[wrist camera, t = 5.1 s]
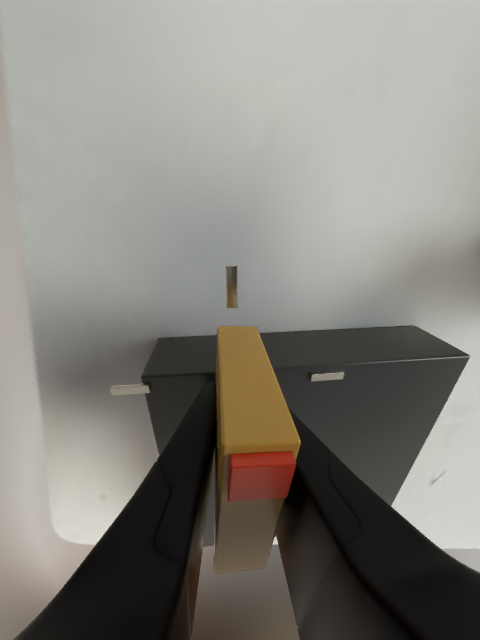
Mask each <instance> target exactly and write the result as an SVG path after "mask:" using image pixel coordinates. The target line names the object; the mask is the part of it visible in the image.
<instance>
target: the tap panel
mask: <svg viewBox="0 0 480 640" xmlns="http://www.w3.org/2000/svg"><path fill="white" fill-rule="evenodd" d="M226 293H227V308H238V266H237V265H226ZM259 334H260V337H261V339H262V342H263V345H264V347H265V350H266V352H267V355H268V357H269V360H270V363H271V365H272V368H273V370H274V373H275V376H276V378H277V381H278V383H279V386H280V388H281V391H282V394H283V396H284V399H285V401H286V404H287V406H288V407H289V408H290V409H291V410H292V411H293V413H294V414H295V415H296V416H297V417H298V418H299V419H300V420H301V421H302V422H303V423H304V424H305V425H306V426H307V427H308V428H309V429H310V430H311V431H312V432H313V433H314V434H315V435H316V436H317V437H318V438H319V439H320V440H321V441H322V442H323V443H324V444H325V445H326V446H327V447H328V448H329V449H330V450H331V452H333V453H334V454H335V455H336V456H337V457H338V458H339V459H340V460H341V461H342V462H343V463H344V464H345V465H346V466H347V467H348V468H349V469H350V470H351V471H352V472H353V473H354V474H355V475H356V476H357V477H358V478H360V479H361V480H362V481H363V482H364V483H365V484H366V485H367V486H368V487H369V488H371V489H372V490H373V491H374V492H375V493H376V494H377V495H378V496H380V497H381V498H382V499H383V500H384V501H385V502H386V503H388V504H389V505H390V506H391V505H392V503H393V501H394V500H395V498H396V496H397V494H398V492H399V490H400V488H401V486H402V484H403V483H404V481H405V479H406V477H407V475H408V473H409V471H410V469H411V468H412V466H413V464H414V462H415V460H416V458H417V456H418V454H419V452H420V451H421V449H422V447H423V445H424V443H425V441H426V439H427V437H428V435H429V434H430V432H431V430H432V428H433V426H434V424H435V422H436V420H437V418H438V417H439V415H440V413H441V411H442V409H443V407H444V405H445V403H446V401H447V400H448V398H449V396H450V394H451V392H452V390H453V388H454V386H455V384H456V383H457V381H458V379H459V377H460V375H461V373H462V371H463V369H464V367H465V366H466V364H467V362H468V360H469V358H470V355H468V354H467V353H465V352H463V351H461V350H459V349H457V348H455V347H454V346H452V345H450V344H448V343H446V342H444V341H443V340H441V339H439V338H437V337H435V336H433V335H431V334H430V333H428V332H426V331H424V330H422V329H420V328H419V327H417V326H404V327H383V328H363V329H342V330H321V331H300V332H279V333H259ZM216 356H217V335H216V336H196V337H175V338H159V339H158V341H157V343H156V345H155V347H154V350H153V352H152V354H151V356H150V358H149V361H148V363H147V365H146V367H145V369H144V372H143V374H142V376H141V379H142V383H143V384H130V385H115V386H111V387H110V391H111V394H112V396H114V395H128V394H142V393H145V396H146V400H147V405H148V409H149V413H150V418H151V422H152V426H153V431H154V435H155V439H156V443H157V448H158V452H159V456H160V454H161V452H162V451H163V449H164V448H165V446H166V445H167V443H168V441H169V440H170V438H171V437H172V435H173V433H174V432H175V430H176V429H177V427H178V425H179V424H180V422H181V421H182V419H183V417H184V416H185V414H186V413H187V411H188V410H189V408H190V406H191V405H192V403H193V402H194V400H195V398H196V397H197V395H198V394H199V392H200V390H201V389H202V387H203V386H204V384H206V383H215V382H216ZM274 537H276V533H275V536H274ZM212 545H214V459H213V467H212V475H211V483H210V491H209V500H208V508H207V516H206V524H205V532H204V541H203V547H205V546H212Z"/></svg>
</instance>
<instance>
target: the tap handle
mask: <svg viewBox="0 0 480 640" xmlns="http://www.w3.org/2000/svg"><path fill="white" fill-rule="evenodd" d="M215 384H216V429H215V449H214V573H215V574H222V573H231V572H238V571H247V570H255V569H264V568H265V567H266V565H267V561H268V557H269V554H270V550H271V547H272V543H273V540H274V536H275V533H276V529H277V526H278V522H279V518H280V515H281V511H282V508H283V504H284V501H285V498H286V497H287V495H288V491H289V488H290V484H291V481H292V477H293V474H294V470H295V467H296V458H297V454H298V451H299V447H300V444H301V440H300V437H299V435H298V432H297V430H296V427H295V425H294V422H293V419H292V417H291V414H290V412H289V409H288V406H287V404H286V401H285V399H284V396H283V394H282V391H281V388H280V386H279V383H278V381H277V378H276V376H275V373H274V370H273V368H272V365H271V363H270V360H269V357H268V355H267V352H266V350H265V347H264V345H263V342H262V339H261V337H260V334H259V332H258V329H257V327H244V326H218V331H217V356H216V382H215Z"/></svg>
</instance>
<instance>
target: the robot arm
mask: <svg viewBox="0 0 480 640" xmlns="http://www.w3.org/2000/svg"><path fill="white" fill-rule="evenodd" d="M288 409H289V412H290V414H291V417H292V419H293V422H294V425H295V427H296V430H297V432H298V435H299V437H300V440H301V444H300V447H299V451H298V454H297V458H296V467H295V470H294V474H293V477H292V481H291V484H290V488H289V491H288V495H287V497H286V498H285V501H284V504H283V508H282V511H281V515H280V518H279V522H278V526H277V529H276V536H277V540H278V545H279V549H280V554H281V558H282V562H283V567H284V571H285V575H286V580H287V584H288V588H289V593H290V597H291V602H292V606H293V610H294V615H295V619H296V624H297V626H298V627H299V628H298V633H299V637H300V640H480V573H479V572H477V571H475V570H473V569H471V568H469V567H468V566H466V565H464V564H462V563H461V562H459V561H457V560H456V559H454V558H453V557H451V556H450V555H448V554H447V553H446V552H444V551H443V550H442V549H440V548H439V547H438V546H436V545H435V544H434V543H433V542H431V541H430V540H429V539H428V538H427V537H425V536H424V535H423V534H422V533H421V532H420V531H419V530H417V529H416V528H415V527H414V526H413V525H412V524H411V523H409V522H408V521H407V520H406V519H405V518H404V517H403V516H401V515H400V514H399V513H398V512H397V511H396V510H394V509H393V508H392V507H391V506H390V505H389V504H388V503H386V502H385V501H384V500H383V499H382V498H381V497H380V496H378V495H377V494H376V493H375V492H374V491H373V490H372V489H371V488H369V487H368V486H367V485H366V484H365V483H364V482H363V481H362V480H361V479H360V478H358V477H357V476H356V475H355V474H354V473H353V472H352V471H351V470H350V469H349V468H348V467H347V466H346V465H345V464H344V463H343V462H342V461H341V460H340V459H339V458H338V457H337V456H336V455H335V454H334V453H333V452H331V450H330V449H329V448H328V447H327V446H326V445H325V444H324V443H323V442H322V441H321V440H320V439H319V438H318V437H317V436H316V435H315V434H314V433H313V432H312V431H311V430H310V429H309V428H308V427H307V426H306V425H305V424H304V423H303V422H302V421H301V420H300V419H299V418H298V417H297V416H296V415H295V414H294V413H293V411H292V410H291V409H290V408H289V407H288ZM215 429H216V384H215V383H206V384H204V386H203V387H202V389H201V390H200V392H199V394H198V395H197V397H196V398H195V400H194V402H193V403H192V405H191V406H190V408H189V410H188V411H187V413H186V414H185V416H184V417H183V419H182V421H181V422H180V424H179V425H178V427H177V429H176V430H175V432H174V433H173V435H172V437H171V438H170V440H169V441H168V443H167V445H166V446H165V448H164V449H163V451H162V452H161V454H160V456H159V457H158V459H157V462H155V463H154V465H153V467H152V468H151V470H150V471H149V473H148V475H147V476H146V478H145V479H144V481H143V482H142V484H141V485H140V487H139V488H138V489H137V491H136V492H135V494H134V495H133V497H132V498H131V499H130V501H129V502H128V503H127V505H126V506H125V507H124V509H123V510H122V512H121V513H120V514H119V516H118V517H117V518H116V519H115V521H114V522H113V523H112V525H111V526H110V527H109V529H108V530H107V531H106V532H105V534H104V535H103V536H102V538H101V539H100V540H99V542H98V543H97V544H96V545H95V547H94V548H93V549H92V551H91V552H90V553H89V555H88V556H87V557H86V559H85V560H84V561H83V563H82V564H81V565H80V566H79V568H78V569H77V570H76V571H75V573H74V574H73V575H72V577H71V578H70V579H69V580H68V582H67V583H66V584H65V585H64V587H63V588H62V589H61V590H60V592H59V593H58V594H57V595H56V596H55V598H54V599H53V600H52V601H51V602H50V603H49V604H48V606H47V607H46V608H45V609H44V610H43V611H42V612H41V613H40V614H39V615H38V616H37V617H36V618H35V619H34V620H33V621H32V622H31V623H30V624H29V625H28V626H27V627H26V628H25V629H24V630H23V631H22V632H21V633H20V634H19V635H18V636H17V637H16V638H14V639H13V640H191V638H192V631H193V622H194V614H195V606H196V598H197V590H198V581H199V573H200V565H201V556H202V548H203V541H204V532H205V524H206V516H207V508H208V500H209V491H210V483H211V475H212V467H213V459H214V449H215Z"/></svg>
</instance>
